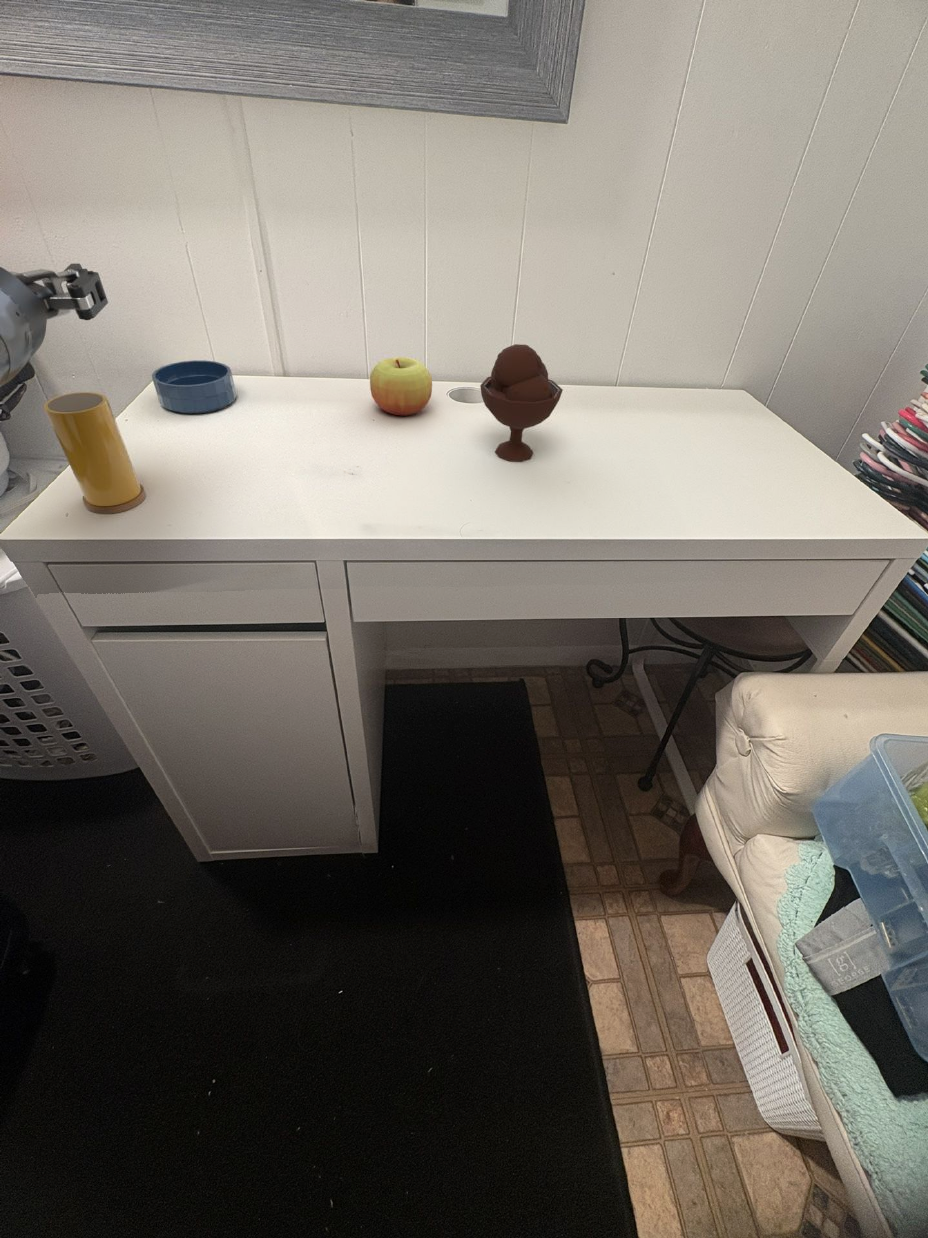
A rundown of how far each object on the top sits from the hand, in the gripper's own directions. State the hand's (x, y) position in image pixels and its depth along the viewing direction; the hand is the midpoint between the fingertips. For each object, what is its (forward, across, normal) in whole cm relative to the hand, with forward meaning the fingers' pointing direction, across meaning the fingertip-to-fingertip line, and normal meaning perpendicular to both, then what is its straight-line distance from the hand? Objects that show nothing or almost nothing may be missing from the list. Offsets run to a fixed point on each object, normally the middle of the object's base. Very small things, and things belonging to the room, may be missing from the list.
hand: (31, 275), depth 54 cm
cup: (-2, 0, +22) cm, 22 cm away
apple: (+20, -39, +24) cm, 49 cm away
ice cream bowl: (+2, -52, +23) cm, 57 cm away
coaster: (-2, 0, +23) cm, 23 cm away
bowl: (+28, -7, +23) cm, 37 cm away
